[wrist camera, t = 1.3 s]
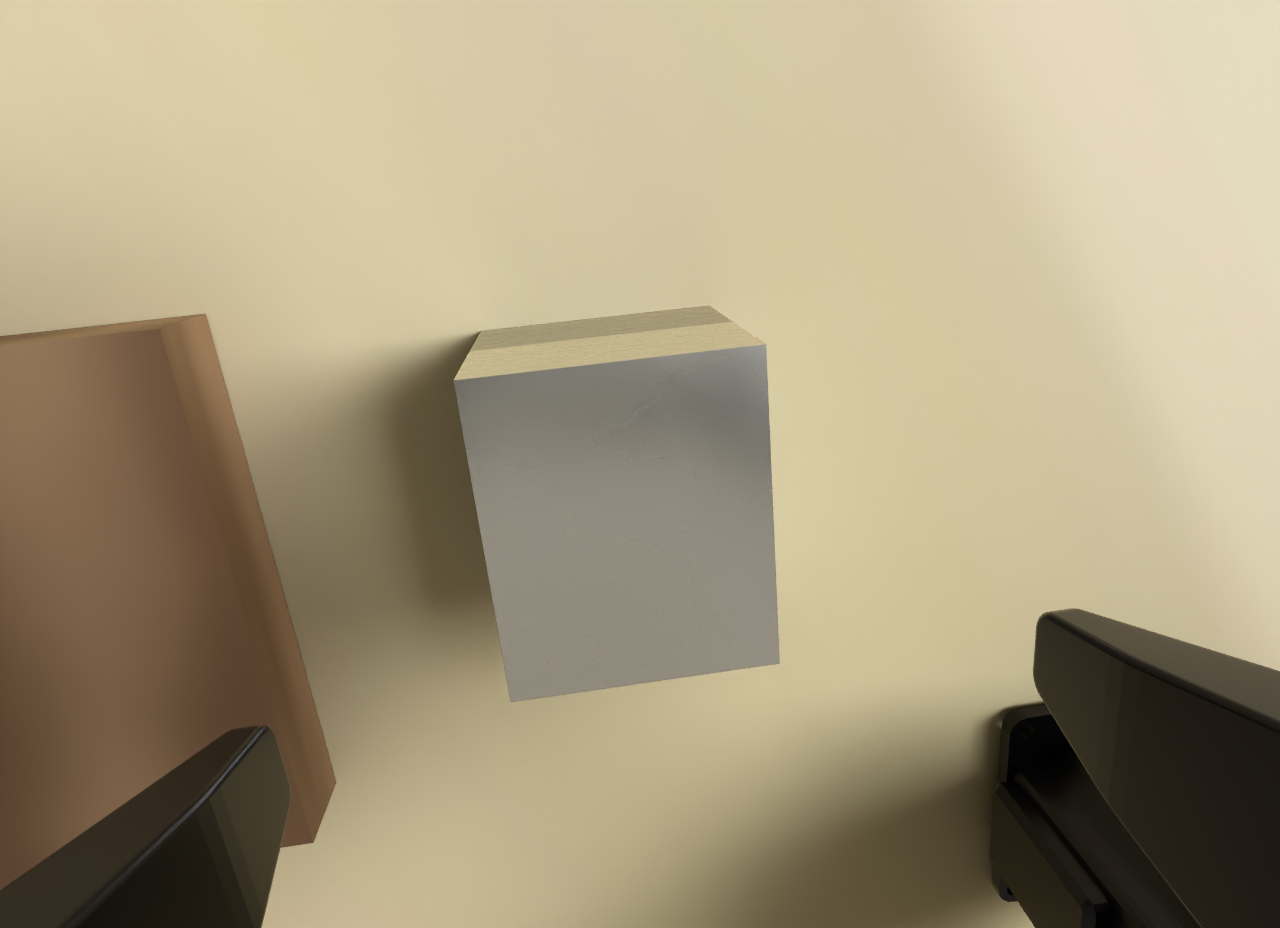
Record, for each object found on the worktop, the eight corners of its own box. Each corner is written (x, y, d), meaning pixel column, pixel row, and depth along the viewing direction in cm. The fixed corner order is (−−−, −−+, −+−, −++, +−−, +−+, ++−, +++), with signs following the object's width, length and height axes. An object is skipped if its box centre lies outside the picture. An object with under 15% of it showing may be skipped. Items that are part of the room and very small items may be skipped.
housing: (708, 304, 17) (765, 344, 13) (724, 550, 19) (779, 663, 15) (481, 330, 17) (452, 380, 12) (521, 577, 19) (510, 702, 14)
